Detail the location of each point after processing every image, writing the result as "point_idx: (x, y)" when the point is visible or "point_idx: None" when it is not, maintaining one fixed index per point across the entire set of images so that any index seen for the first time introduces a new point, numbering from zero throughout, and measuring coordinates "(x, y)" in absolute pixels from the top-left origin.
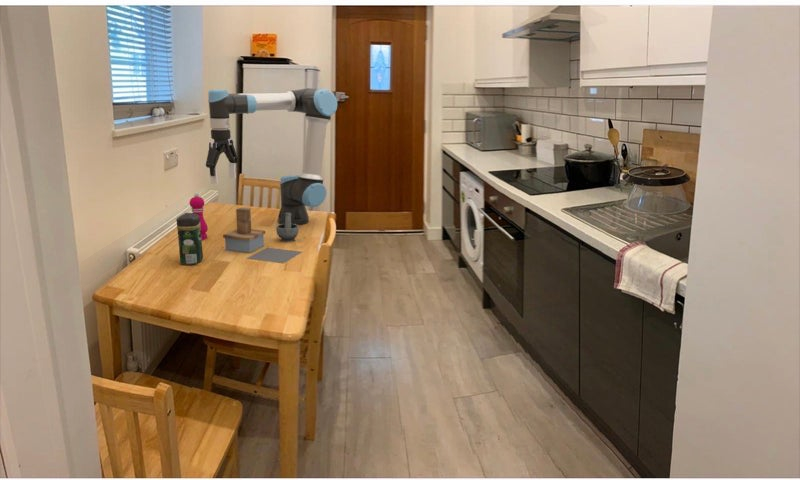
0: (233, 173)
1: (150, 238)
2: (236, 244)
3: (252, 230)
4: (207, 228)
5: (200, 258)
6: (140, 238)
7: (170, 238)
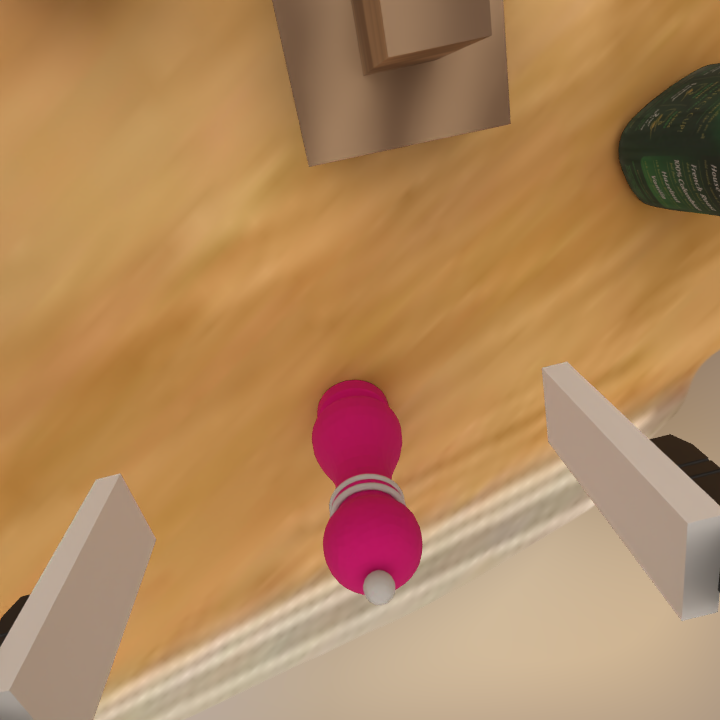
0: (103, 542)
1: (464, 547)
2: None
3: (307, 20)
4: (330, 408)
5: (709, 67)
6: (482, 570)
7: (423, 497)
